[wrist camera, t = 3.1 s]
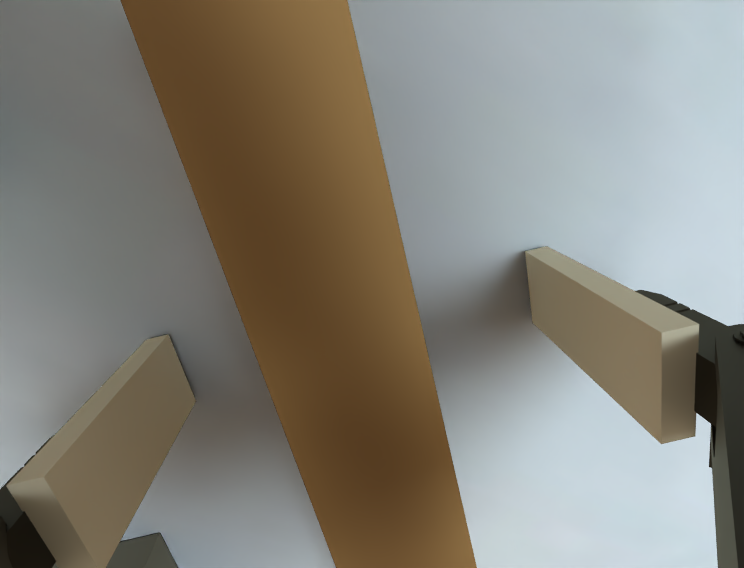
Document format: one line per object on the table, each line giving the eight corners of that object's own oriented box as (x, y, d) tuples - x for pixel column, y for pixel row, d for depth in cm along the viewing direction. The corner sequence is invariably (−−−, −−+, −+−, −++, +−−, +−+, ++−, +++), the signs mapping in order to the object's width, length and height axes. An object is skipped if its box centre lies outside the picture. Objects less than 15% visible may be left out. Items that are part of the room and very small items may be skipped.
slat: (316, -52, 12) (294, -230, 6) (457, 532, 19) (507, 701, 13) (193, -19, 12) (57, -165, 6) (379, 552, 19) (396, 728, 13)
